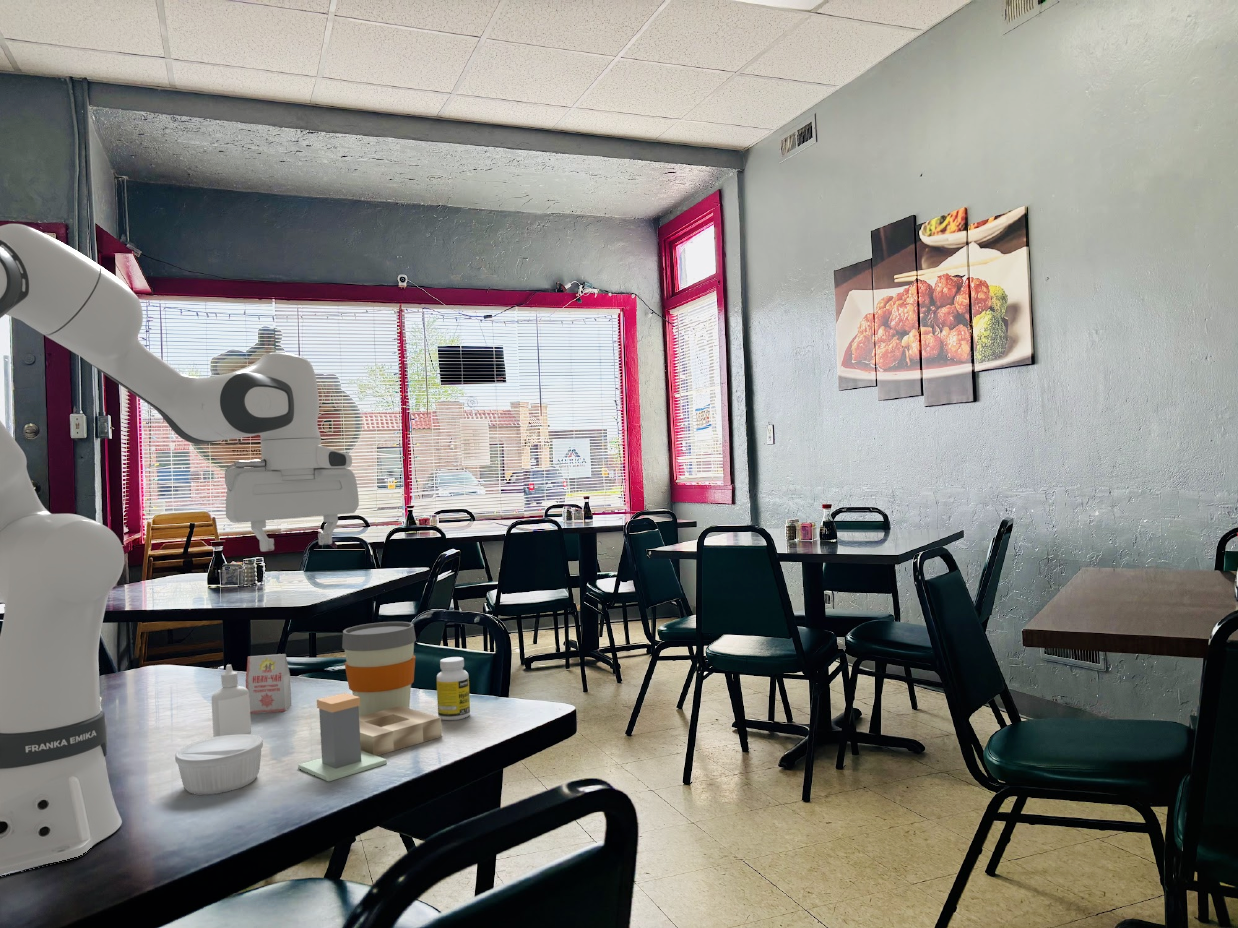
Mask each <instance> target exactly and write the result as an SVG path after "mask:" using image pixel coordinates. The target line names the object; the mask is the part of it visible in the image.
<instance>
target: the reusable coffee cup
mask: <svg viewBox="0 0 1238 928" xmlns="http://www.w3.org/2000/svg"><path fill="white" fill-rule="evenodd" d="M414 626H415V625H414V624H413V623H412V622H410V621H409V622H408V621H383V622H374V623H366V624H359V625H355V626H352V627H351V626H350V627H347V628H345V629H344V630H342V645H341V647H342V648H341V649H343V650H344V654H345V659H346V661H345V663H344V668H345V673H346V679H347V683H348V685H347V686H348V689H349V690H350V691H351V692H352V695H354V696H358V697H360V706H358V707H359V717H360V716H364V715H368V714H372V713H375V712H379V711H383V710H387V709H391V708H395V707H398V706H401V707H405V708H409V709H410V703H411V691H412V689H411V688H412V684H413V683H414V682H415V681H414V680H415V667H416V655H414V649H415V642H416V641H417V638H416V632H415V627H414Z"/></svg>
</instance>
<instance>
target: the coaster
mask: <svg viewBox="0 0 1238 928" xmlns="http://www.w3.org/2000/svg"><path fill="white" fill-rule="evenodd" d="M387 763H388V762H387V759H386V758H383V757H381V756H379V755H378V756H375V755H373V754H370V753H367V752H364V751H362V750H361V761H360V762H357V763H353V764H350V765H347V766H343V767H340V768H337V769H335V768H332V767H330V766H328V765H325V764H323V763H322V757H320V758H317V759H313V760H310V761H306V762H303V763H298V764H297V765H298V766H297V767H298V769H299V770H300V769H301V771H302V772H306V773H307V772H308V774H310V775H312V776H314V775H315V776H314V777H317V778H319V779H321V780H324V781H326V782H331V781H335V780H339V779H342V778H344V777H347V776H351V775H354V774H358V773H361V772H364V771H367V770H370V769H373V768H377V767H380V766H385V765H387Z"/></svg>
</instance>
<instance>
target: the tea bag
mask: <svg viewBox="0 0 1238 928" xmlns="http://www.w3.org/2000/svg"><path fill="white" fill-rule="evenodd" d="M245 688H247V689H248V691H249V701H250V715H251V714H262V712H266V713H277V712H278V713H279V711H280V712H286V711H287V710H288V709H290V708H291V707H292V706H293V705H292V692H291V690H292V689H291V673H290V669H289V664H288V659H287V654H286V653H282V654H281V653H278V654H266V655H250V656H247V663H246V675H245ZM289 707H290V708H289ZM260 712H261V713H260Z"/></svg>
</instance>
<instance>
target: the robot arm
mask: <svg viewBox="0 0 1238 928" xmlns="http://www.w3.org/2000/svg"><path fill="white" fill-rule="evenodd" d="M5 315H7V316H9V317H11V318H15V319H16V320H20V321H22V322H23V323H25V324H26V325H27V326H29V327H30V328H32V329H34V330H35V331H36V332H38V333H40V334H41V335H44V336H45V337H46V338H48V339H50V340H52V341H54V342H55V343H57V344H59V345H61V346H62V347H64V348H65V349H68V350H69V351H71V352H72V353H74V354H75V355H78V356H79V357H81V359H82V358H83V360H85V361H87V362H88V363H89V364H90V365H92V366H93V367H94V368H95V369H96V370H98V371H99V372H100V373H102V374H103V375H105V376H106V377H108V378H109V379H110V380H112V381H113V382H115V383H116V384H118V386H119V385H120V386H121V387H122V388H124V389H125V390H127V391H128V392H130V394H133V395H135V396H136V397H137V398H138V399H140V400H142V401H143V402H144V403H146V404H147V405H149V406H150V407H152V408H153V409H154V410H155V411H156V412H157V413H158V414H159V415H160V416H161V417H162V418H163V420H164V421H165V423H166V424H167V425H168V426H169V427H170V429H171V430H172V431H173V433H175V434H176V435H177V436H178V437H180V438H181V439H182V440H184V441H186V442H188V443H191V444H195V445H208V444H209V445H210V444H213V443H217V442H220V441H225V440H226V441H227V440H235V439H241V438H248V437H254V436H257V435H259V436H260V452H261V454H260V455H261V459H252V460H235V461H234V462H233V463H232V464H230V465H228V466H227V468H225V471H224V484H225V486H226V496H225V517H226V519H227V520H228V521H230V523H233V524H239V523H240V524H242V523H250V530H251V531H252V532H253V534H254V535H255V537H256V538H257V539H258V540H259V549H260V552H271V551H274V550H275V540H274V539H275V538H269V537H268V536H267V534H266V532H265V530H264V529H266V528H267V521H277V520H287V519H300V518H312V517H322V516H323V522H324V523H326V524H325V526H324V529H323V532H320V533H318V534H317V537H318V545H319V546H326V545H332V544H333V533H334V532H335V529H336V527H337V525H338V523H339V518H338V517H339V515H347V514H355V513H356V511H357V510H358V508H359V506H360V505H359V504H360V499H359V498H360V497H359V491H358V490H359V489H358V484H357V479H356V475H355V474H354V472H353V471H352V470H351V469H350V468H351V467H352V465H353V458H352V455H351V454H349V453H346V452H343V451H340V450H336V449H333V448H330V447H327V446H325V445H322V437H321V436H322V435H321V432H320V430H319V427H318V426H319V425H318V419H319V415H320V399H319V389H318V382H317V377H316V374H315V372H316V371H315V370H314V368H313V365H312V363H311V362H310V361H309V360H308V359H307V358H306V357H303V356H301V355H298V354H294V353H290V352H279V351H278V352H275V351H274V352H268V353H264V354H262V356H261V357H260V358H259V359H258V360H256V361H255V362H254V363H251V364H250V365H247V366H246V367H243V368H241V369H237V370H235V371H233V372H229V373H224V374H223V373H222V374H219V375H213V376H209V377H199V376H198V377H197V376H189V375H186V374H183V373H181V372H179V371H178V370H176V369H175V368H174V367H173V366H171V365H170V364H169V363H167V362H166V361H164V360H163V359H162V358H161V357H159V356H158V355H156V354H155V353H154V352H152V351H151V350H149V349H148V348H147V347H145V346H144V344H142V343H141V342H140V340H139V339H138V336H139V335H140V332H141V329H142V327H143V326H142V325H143V319H144V315H143V308H142V305H141V301H140V298H139V297H138V296H137V295H136V293H135V292H134V291H133V290H132V289H131V288H130V287H129V286H128V285H126V284H125V282H123V281H122V280H121V279H119V277H117V276H116V275H115V274H113V273H112V272H110V271H108V270H107V269H105V268H104V267H103V266H101V265H100V264H98V263H97V262H95V261H93V260H92V259H91V258H89V257H87V256H86V255H84V254H82V253H81V252H79V251H78V250H76V249H74V248H72V247H71V246H70V245H67V244H65V243H64V242H61V241H60V240H58V239H56V238H54V237H52V236H50V235H48V234H46V233H44V232H42V231H39V230H37V229H35V228H33V227H31V226H28V225H25V224H21V223H8V224H3V225H0V319H1V318H3V317H4V316H5ZM27 463H28V462H27V457H26V454H25V452H24V451H23V449H22V448H21V447H20V445H19V443H18V442H17V441H16V440H15V438H14V437H13V436H12V434H11V433H10V432H9V430H8V429H7V428H6V426H5V425H4V424H3V422H2V421H1V420H0V603H1V604H4V612H3V620H2V626H1V631H0V875H2V874H4V873H8V872H10V871H15V870H22V869H24V868H30V867H33V866H38V865H43V864H48V863H53V862H58V863H60V862H59V861H62V860H66V861H68V860H67V859H70V858H74V857H77V858H79V857H78V856H80V855H82V856H84V855H83V853H85V852H86V853H88V852H89V851H90V850H91V849H90V848H92V847H93V846H95V845H96V844H97V843H100V841H101V842H102V840H105V839H107V838H108V837H109V836H111V835H112V834H114V833H115V832H116V831H118V829H119V828H120V827H121V826H122V824H123V820H122V817H121V815H120V812H119V810H118V808H117V805H116V802H115V799H114V796H113V792H112V788H111V784H110V779H109V775H108V770H107V769H108V768H107V763H106V756H107V755H108V754H107V753H108V752H107V751H108V750H107V749H108V745H109V744H108V742H109V741H108V726H107V720H106V715H105V711H103V710H101V693H100V689H101V688H100V671H99V669H100V667H99V666H100V665H99V649H100V638H101V632H102V627H103V623H104V622H103V621H104V618H105V613H106V607H107V604H108V600H109V599H108V598H109V596H110V593H111V592H112V590H113V588H114V587H115V585H116V584H117V583H118V581H119V580H120V578H121V575H122V573H123V570H124V567H125V552H124V548H123V544H122V542H121V540H120V538H119V537H118V535H116V533H115V532H114V531H113V530H112V529H110V527H108V526H106V525H104V524H102V523H100V522H98V521H96V520H94V519H91V518H88V517H87V516H83V515H79V514H74V513H51V512H50V511H49V510H48V509H47V508H45V506H44V505H43V503H42V501H41V499H39V497H38V494H37V491H36V490H35V488H34V485H33V483H32V480H31V478H30V475H29V473H28V469H27ZM89 849H90V850H89ZM88 850H89V851H88ZM87 851H88V852H87ZM86 853H85V854H86ZM80 857H81V856H80ZM74 859H75V858H74ZM70 860H71V859H70ZM62 862H63V861H62Z"/></svg>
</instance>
